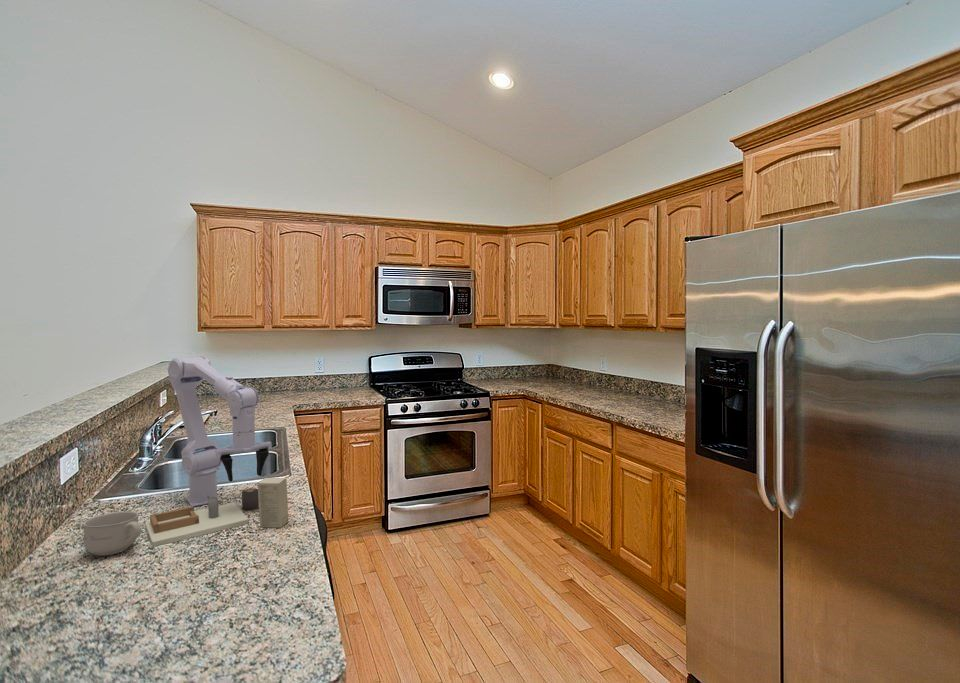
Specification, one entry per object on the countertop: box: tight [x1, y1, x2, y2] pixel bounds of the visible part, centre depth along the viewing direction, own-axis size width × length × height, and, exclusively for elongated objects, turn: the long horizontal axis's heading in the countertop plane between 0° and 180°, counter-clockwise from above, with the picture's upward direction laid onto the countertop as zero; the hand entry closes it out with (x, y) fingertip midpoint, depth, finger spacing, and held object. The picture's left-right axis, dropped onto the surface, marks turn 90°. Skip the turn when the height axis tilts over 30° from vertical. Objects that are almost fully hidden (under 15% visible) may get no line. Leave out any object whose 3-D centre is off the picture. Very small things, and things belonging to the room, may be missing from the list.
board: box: [144, 494, 250, 548], centre depth 136 cm, size 16×22×6 cm
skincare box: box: [257, 477, 289, 529], centre depth 135 cm, size 6×4×12 cm
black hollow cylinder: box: [241, 487, 259, 512], centre depth 148 cm, size 4×4×5 cm
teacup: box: [82, 510, 142, 557], centre depth 121 cm, size 14×11×8 cm
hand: (245, 477), depth 145 cm, fingers open, 7 cm apart
